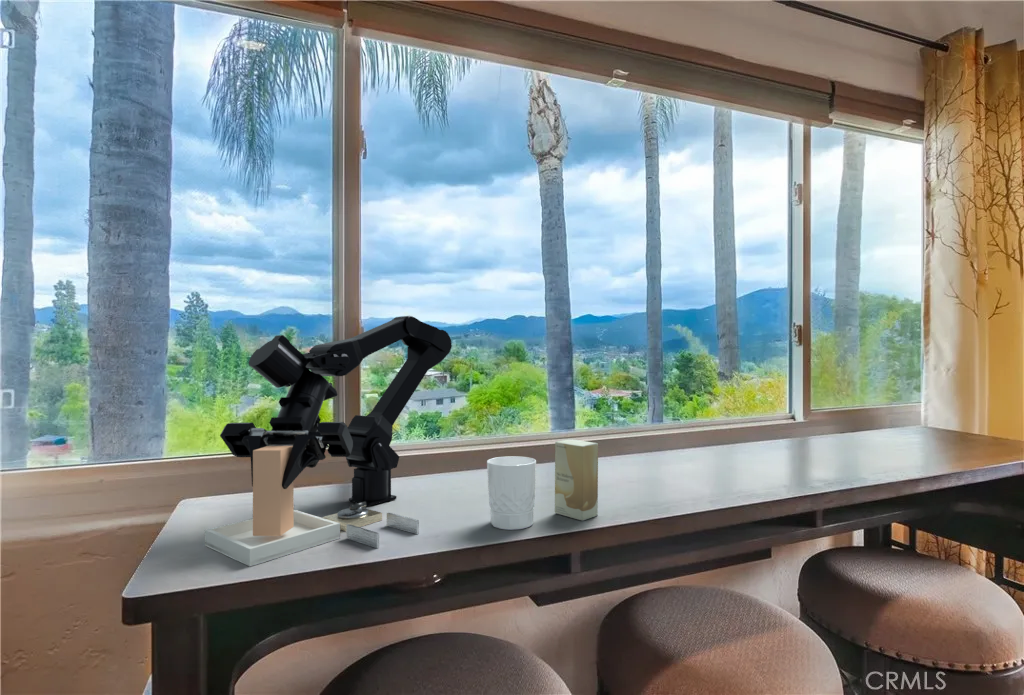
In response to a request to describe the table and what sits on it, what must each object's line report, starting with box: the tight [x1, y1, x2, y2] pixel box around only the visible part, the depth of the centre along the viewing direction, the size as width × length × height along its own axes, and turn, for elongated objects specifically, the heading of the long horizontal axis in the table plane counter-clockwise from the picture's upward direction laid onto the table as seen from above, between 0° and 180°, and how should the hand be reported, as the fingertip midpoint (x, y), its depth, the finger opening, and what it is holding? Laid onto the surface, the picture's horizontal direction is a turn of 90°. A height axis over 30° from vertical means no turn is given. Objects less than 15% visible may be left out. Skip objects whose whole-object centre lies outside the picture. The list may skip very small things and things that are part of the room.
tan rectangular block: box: [252, 446, 295, 536], centre depth 76 cm, size 4×4×12 cm
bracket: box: [322, 501, 420, 549], centre depth 81 cm, size 9×16×3 cm, turn 53°
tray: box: [204, 509, 341, 567], centre depth 76 cm, size 13×13×2 cm
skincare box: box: [554, 438, 599, 522], centre depth 88 cm, size 6×4×12 cm
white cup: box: [486, 455, 537, 531], centre depth 83 cm, size 8×8×10 cm
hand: (269, 487), depth 75 cm, fingers closed on tan rectangular block, 4 cm apart
